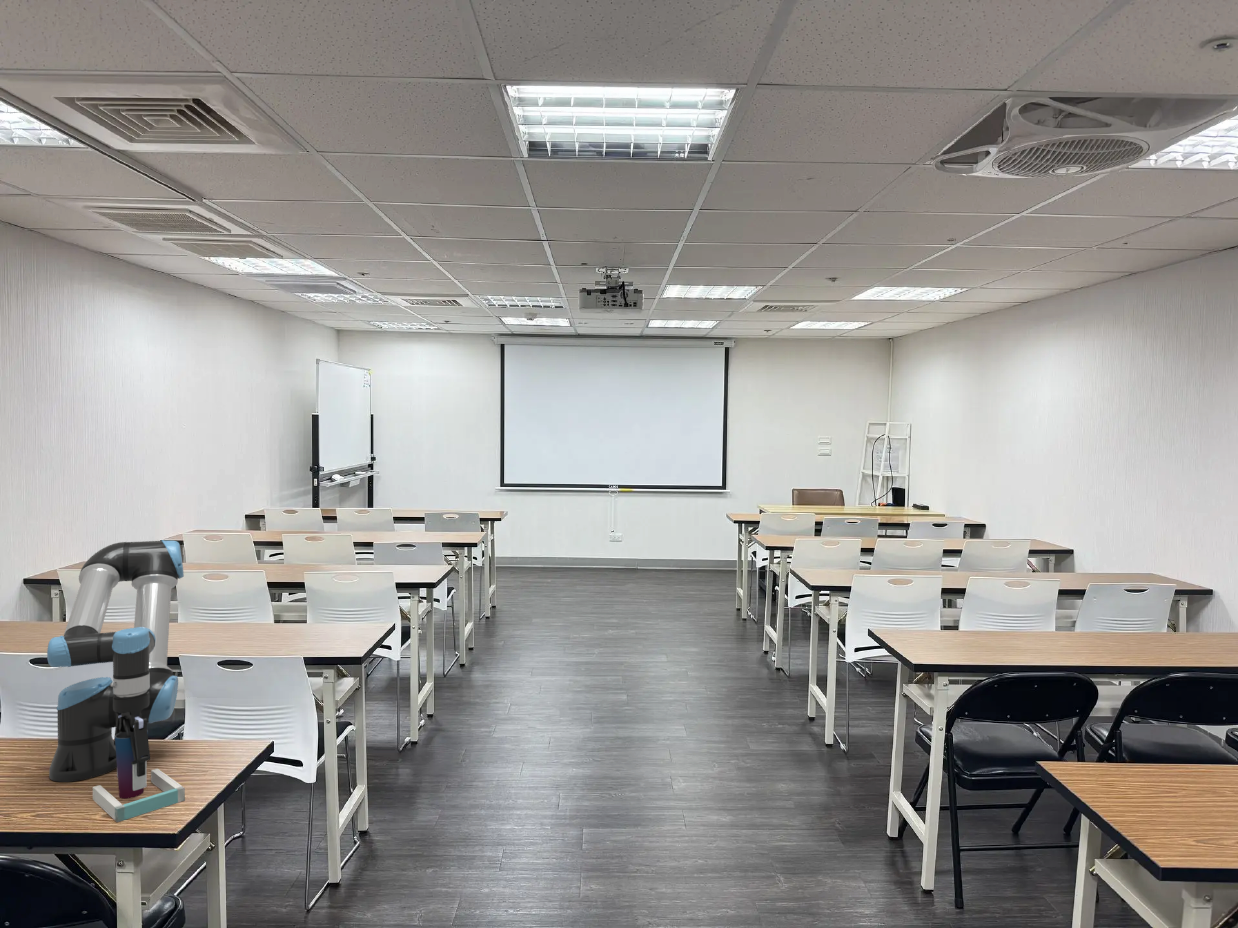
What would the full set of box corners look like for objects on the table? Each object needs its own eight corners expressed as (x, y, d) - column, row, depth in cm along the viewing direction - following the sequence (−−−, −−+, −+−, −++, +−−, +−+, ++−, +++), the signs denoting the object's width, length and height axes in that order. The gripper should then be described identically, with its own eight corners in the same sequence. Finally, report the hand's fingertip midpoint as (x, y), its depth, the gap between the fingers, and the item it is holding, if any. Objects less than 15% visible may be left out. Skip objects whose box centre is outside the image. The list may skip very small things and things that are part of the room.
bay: (92, 799, 176) (92, 786, 176) (157, 779, 187) (157, 768, 187) (117, 822, 165) (117, 808, 165) (184, 800, 176) (184, 787, 176)
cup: (131, 801, 175) (131, 739, 175) (107, 798, 177) (107, 737, 177) (154, 789, 182) (154, 729, 182) (131, 786, 183) (131, 727, 183)
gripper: (98, 687, 184) (98, 774, 184) (129, 706, 169) (130, 800, 169) (132, 680, 190) (133, 764, 190) (165, 698, 175) (166, 789, 175)
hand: (131, 781), depth 179 cm, fingers open, 11 cm apart
